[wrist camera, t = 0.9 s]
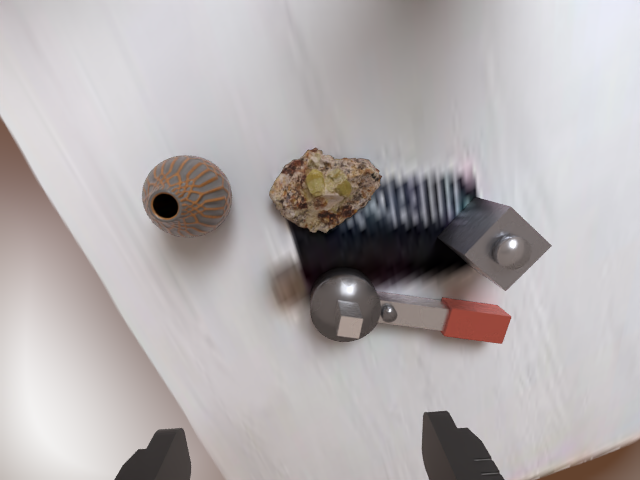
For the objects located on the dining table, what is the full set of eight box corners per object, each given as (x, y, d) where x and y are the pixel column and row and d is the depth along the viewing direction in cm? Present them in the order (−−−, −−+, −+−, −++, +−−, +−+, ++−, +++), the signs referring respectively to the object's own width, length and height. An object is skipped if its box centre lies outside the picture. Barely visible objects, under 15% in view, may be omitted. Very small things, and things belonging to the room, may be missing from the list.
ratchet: (316, 262, 34) (318, 286, 28) (502, 289, 36) (541, 317, 30) (305, 322, 36) (305, 356, 30) (483, 345, 38) (517, 382, 32)
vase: (248, 213, 32) (228, 235, 24) (184, 235, 33) (141, 264, 24) (222, 145, 31) (189, 142, 22) (154, 168, 31) (96, 174, 23)
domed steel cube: (474, 196, 33) (518, 208, 26) (510, 229, 34) (560, 249, 27) (437, 237, 34) (469, 258, 27) (472, 267, 35) (512, 295, 28)
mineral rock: (285, 251, 32) (259, 174, 27) (283, 230, 35) (260, 159, 31) (393, 222, 32) (383, 140, 27) (380, 204, 35) (369, 130, 31)
